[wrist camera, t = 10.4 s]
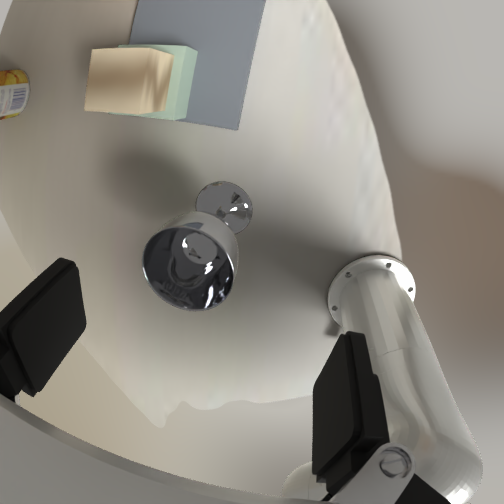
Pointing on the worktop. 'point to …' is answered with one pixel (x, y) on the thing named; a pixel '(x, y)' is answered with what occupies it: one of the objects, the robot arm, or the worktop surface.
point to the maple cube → (128, 80)
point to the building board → (206, 50)
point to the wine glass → (199, 249)
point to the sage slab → (174, 81)
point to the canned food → (13, 93)
